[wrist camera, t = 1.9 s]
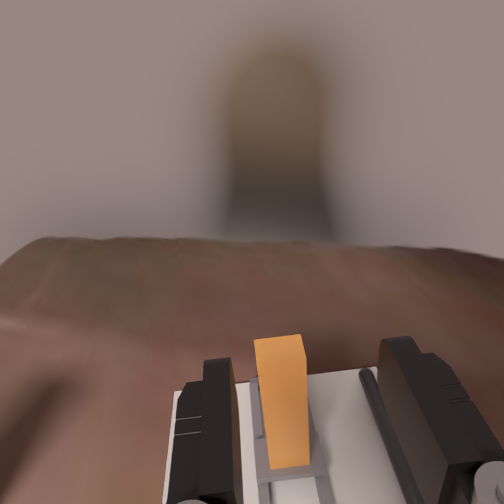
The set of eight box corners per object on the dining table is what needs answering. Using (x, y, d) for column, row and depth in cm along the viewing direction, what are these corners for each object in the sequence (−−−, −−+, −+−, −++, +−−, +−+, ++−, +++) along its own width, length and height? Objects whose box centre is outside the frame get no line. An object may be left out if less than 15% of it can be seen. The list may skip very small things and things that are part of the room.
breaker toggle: (317, 436, 33) (315, 325, 26) (326, 475, 30) (326, 362, 24) (253, 444, 33) (236, 335, 26) (257, 483, 30) (239, 373, 24)
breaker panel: (375, 374, 40) (376, 356, 39) (470, 599, 25) (479, 582, 24) (177, 399, 40) (171, 381, 39) (152, 641, 25) (142, 626, 24)
